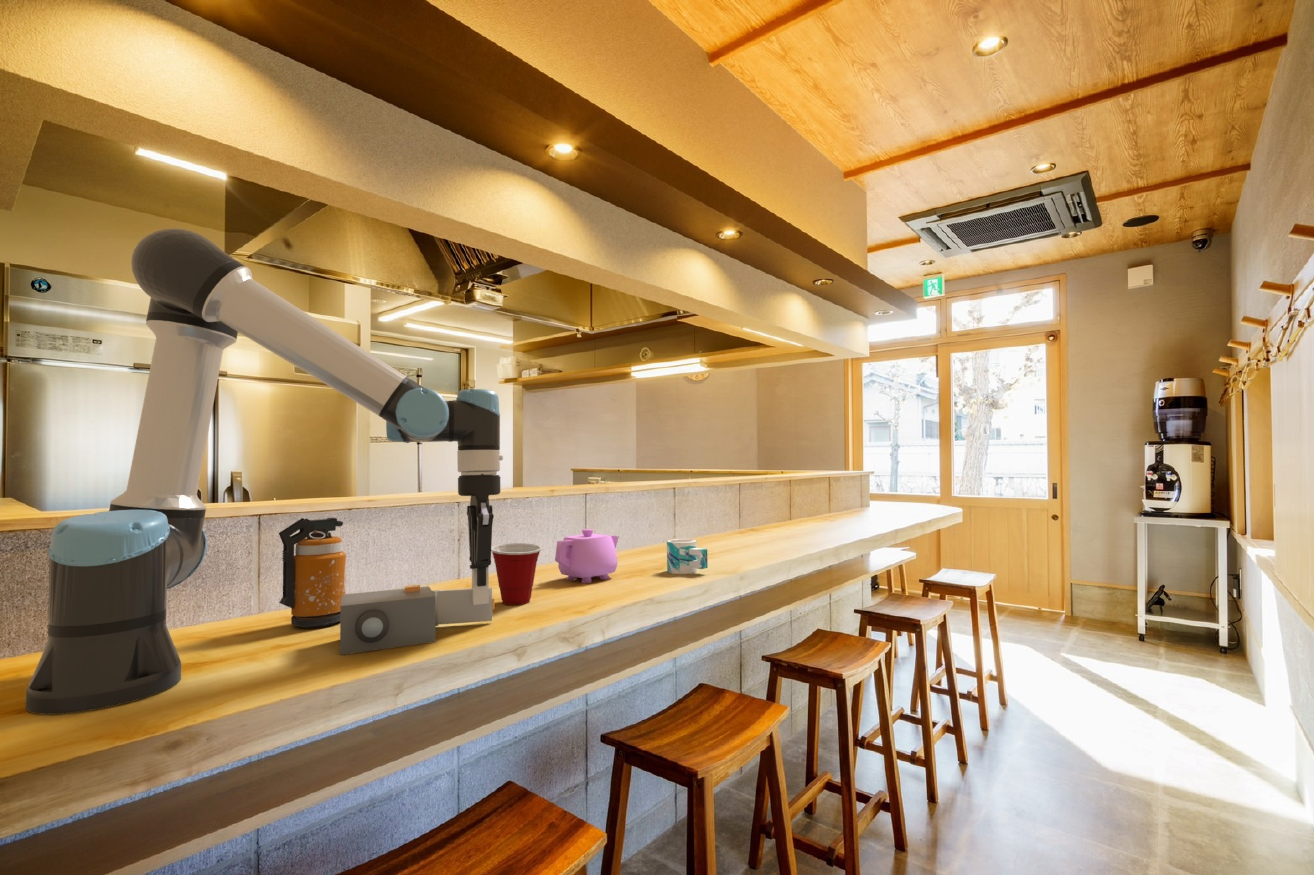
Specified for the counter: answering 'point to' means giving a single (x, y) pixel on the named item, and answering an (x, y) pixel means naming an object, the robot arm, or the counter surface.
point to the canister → (313, 572)
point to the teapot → (587, 556)
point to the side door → (460, 607)
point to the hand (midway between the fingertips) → (480, 603)
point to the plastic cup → (515, 570)
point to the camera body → (386, 619)
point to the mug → (685, 556)
